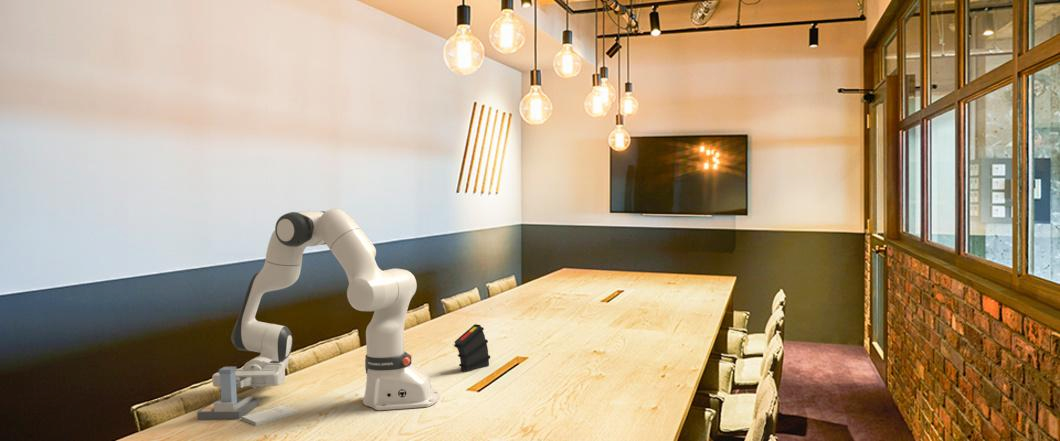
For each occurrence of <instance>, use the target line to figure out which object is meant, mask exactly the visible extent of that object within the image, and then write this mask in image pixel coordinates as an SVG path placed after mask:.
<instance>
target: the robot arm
mask: <svg viewBox="0 0 1060 441" xmlns="http://www.w3.org/2000/svg"><path fill="white" fill-rule="evenodd" d="M320 245H321V246H323V245H326V246H327V247H328V249H329V251H330V252H331V253H332V254H333V256H334V257H335V258H336V260H337V261H338V263H339V264H340V266H341V267H342V269H343V270H344V272H345V274H346V277H347V281H348V287H347V291H346V297H347V300H348V303H349V304H350V306H351V307H352V308H353V309H355V310H357V311H360V312H374V313H373V315H372V318H371V320H370V322H369V324H367V326H366V330H365V342H366V343H365V344H366V346H365V347H366V354H365V356H364V357H365V360H364V366H365V367H364V368H365V374H366V383H365V391H364V396H363V400H362V403H363V405H365V406H367V407H370V408H373V409H374V410H375V411H389V410H400V409H401V410H404V409H413V408H414V409H415V408H416V409H417V408H427V407H430V406H432V405H435V404H436V403H437V402H438V401H439V399H440V392H439V391H438V390H437V389H433V388H432V383H431V382H432V381H431V380H430V377H429V375H428V374H426V373H424V372H423V371H422V370H420V369H419V368H417V367H416V366H415V365H413V364H412V356H413V354H412V353H410V354H409V353H408V352H406V351H405V323H406V316H407V313H408V309H409V305H410V302H411V300H412V298H413V297H414V295H415V294H416V291H417V288H418V286H417V279H416V277H415V275H414V274H413V273H412V272H410V270H407V269H401V268H389V269H385V270H382V269H381V268H380V267H379V266H378V264H377V262H376V256H377V249H376V247H375V245H374V244H373V243H372V242H371V240H370V239H369V237H368V236H367V235H366V233H365V232H364V231H363V230H362V228H361V227H360V226H359V225H358V223H357V222H356V221H355V220H353V218H352V217H350V215H349V214H348V213H347V212H345V211H344V210H342V209H340V208H332V209H328V210H326V211H323V210H322V211H317V210H316V211H313V210H312V211H311V210H303V211H291V212H287V213H285V214H282V215H281V216H279V217H278V219H277V221H276V222H275V226H274V231H272V233H271V236H270V238H269V242H268V245H267V249H266V253H265V258H264V259H265V261H264V264H263V266H262V268H261V270H260V271H259V272H256V273H255V274H254V275H253V276H252V278H251V280H250V282H249V284H248V287H247V290H246V293H245V296H244V298H243V303H242V305H241V308H240V311H239V314H238V318H237V320H236V322H235V325H234V327H233V329H232V332H231V337H230V340H231V342H232V345H233V346H234V347H235V349H237V350H238V351H246V352H256V353H260V354H259V355H258V356H256V357H254V358H252V359H250V360H249V361H247V362H245V363H244V365H243V366H242V368H236V389H242V388H244V387H251V388H254V389H256V388H257V389H258V388H261V387H269V386H270V387H273V386H274V387H276V386H279V385H282V384H283V383H285V381H286V380H285V379H286V368H287V367H288V365H289V363H290V362H289V361H290V355H291V353H292V349H293V344H294V338H293V335H292V332H291V330H290V329H289V327H288V326H285V325H281V324H276V323H268V322H263V321H259V320H257V319H256V314H257V311H258V310H259V309H258V308H259V305H260V302H261V300H262V297H263V296H264V294H266V293H268V292H274V291H279V290H283V289H287V288H289V287H291V286H292V285H294V284H295V283H296V282H297V281H298V279H299V278H300V276H301V275H300V274H301V271H302V264H303V256H304V255H303V254H304V251H305V249H306V248H307V247H315V246H316V247H317V246H320ZM211 378H212V380H211V381H212V382H211V383H212V385H213V386H214V387H221V386H220V374H219V371H218V372H215V373H214V374H212V377H211Z"/></svg>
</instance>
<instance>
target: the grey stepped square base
mask: <svg viewBox="0 0 1060 441" xmlns="http://www.w3.org/2000/svg"><path fill="white" fill-rule="evenodd" d="M259 400H260V399H259V398H253V395H248V396H246V397H245V398H237V404H236V405H235V403H234V402H225V403H221V398H219V399H217V400H216V401H214V402H212V403H210V404H208V405H206V407H204V408H202V409H200V410H199V411H197V413H196V414H197V420H241V417H242V416H245V415H248V414H249V413H250V412H252V411H253V410H254V409H255V408H257V407H259V405H260V403H259ZM248 412H249V413H248Z"/></svg>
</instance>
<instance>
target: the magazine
mask: <svg viewBox="0 0 1060 441" xmlns="http://www.w3.org/2000/svg"><path fill="white" fill-rule="evenodd" d="M488 343H489V340H488V339H486V335H485V333H484V326H483V327H482V325H481V324H477V323H475V324H473V325H472V326H471V327H470V328H469V329H467V330H466V331H465V332H464V333H463V334H462V335H460V336H459V337H458V338H457V339H456V340H455V341H454V344H453V346H454V348H456V349H457V352H458V354H457V357H459V359H460V363H459V364H458V366H459V367H460V371H463V372H465V373H467V372H471V371H473V370H477V369H481V368H486V367H489V366H490V359H491V355H489V348H488Z"/></svg>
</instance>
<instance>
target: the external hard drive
mask: <svg viewBox="0 0 1060 441" xmlns="http://www.w3.org/2000/svg"><path fill="white" fill-rule="evenodd" d="M297 414H298V410H297V409H295V408H292V407H289V406H286V405H284V404H283V405H278V406H275V407H271V408H268V409H264V410H260V411H256V412H252V413H250V414H249V413H248V414H246V415H244V416H242V417H241V418H240V420H241V421H242V422H245V421H246V422H245V423H248V424H250V425H253V426H256V427H257V426H259V425H263V424H267V423H270V422H273V421H277V420H280V419H283V418H286V417H290V416H293V415H297Z"/></svg>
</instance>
